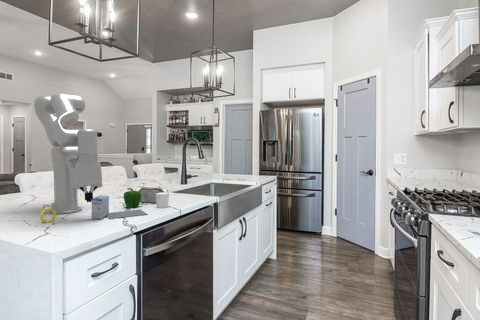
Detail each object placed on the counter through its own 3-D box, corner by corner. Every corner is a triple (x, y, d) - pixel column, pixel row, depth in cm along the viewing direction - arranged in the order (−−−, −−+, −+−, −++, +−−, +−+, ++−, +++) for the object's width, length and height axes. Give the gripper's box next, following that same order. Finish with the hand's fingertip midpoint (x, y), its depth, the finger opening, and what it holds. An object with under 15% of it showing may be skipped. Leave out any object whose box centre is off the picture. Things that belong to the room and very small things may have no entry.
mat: (108, 219, 122) (108, 218, 122) (104, 213, 133) (104, 213, 133) (147, 214, 131) (147, 214, 131) (140, 209, 141) (140, 209, 141)
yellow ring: (44, 224, 115) (42, 210, 115) (39, 224, 116) (37, 209, 116) (57, 220, 121) (56, 206, 120) (53, 219, 122) (51, 205, 121)
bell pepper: (140, 204, 154) (140, 186, 154) (142, 207, 147) (141, 188, 146) (123, 206, 151) (123, 186, 150) (124, 209, 143) (124, 188, 143)
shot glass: (171, 205, 151) (171, 192, 151) (164, 208, 145) (164, 194, 144) (160, 205, 153) (160, 191, 153) (152, 207, 147) (152, 193, 147)
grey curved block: (165, 202, 161) (165, 187, 160) (163, 203, 157) (162, 188, 157) (139, 202, 162) (138, 187, 162) (136, 203, 159) (136, 187, 159)
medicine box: (98, 214, 130) (98, 195, 129) (109, 214, 130) (109, 195, 130) (91, 219, 122) (91, 198, 121) (102, 219, 122) (102, 199, 122)
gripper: (67, 159, 115) (68, 205, 116) (108, 158, 123) (109, 201, 124) (67, 158, 122) (68, 202, 122) (105, 158, 130) (106, 198, 130)
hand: (88, 201), depth 123 cm, fingers closed
